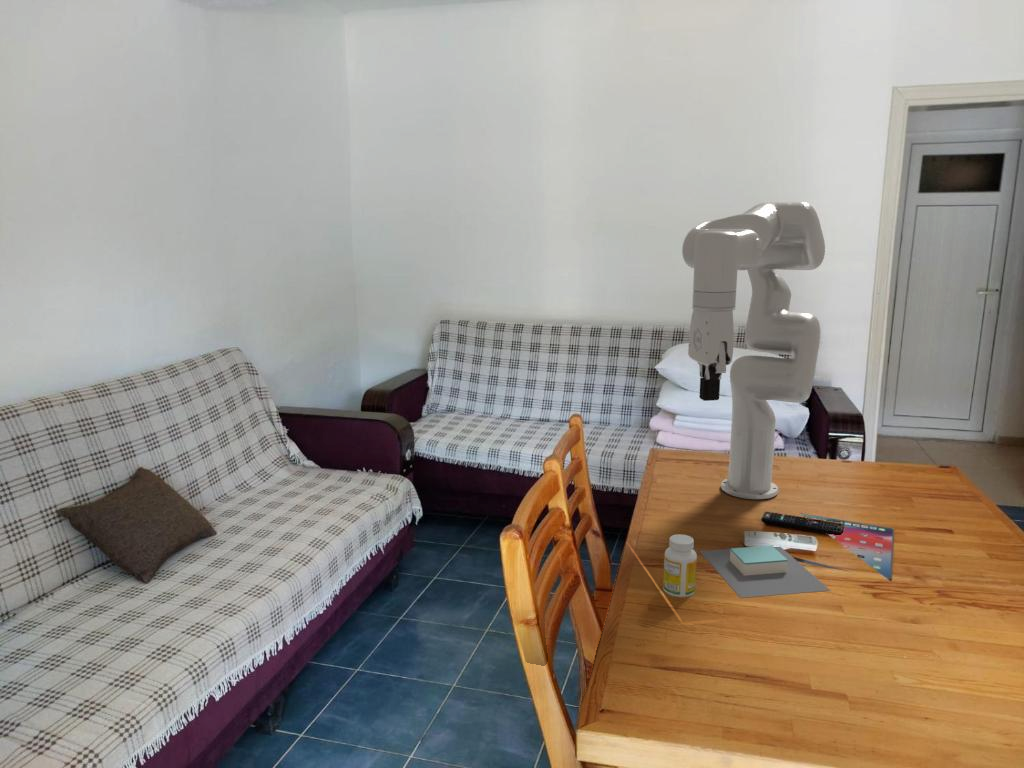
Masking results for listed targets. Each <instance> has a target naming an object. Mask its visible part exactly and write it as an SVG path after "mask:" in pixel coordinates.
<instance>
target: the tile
mask: <svg viewBox="0 0 1024 768" xmlns="http://www.w3.org/2000/svg"><path fill="white" fill-rule="evenodd" d="M773 546H774V545H761V546H757V545H756V546H746V547H734V548H729V549H730V561H731V562H732V563H733V564H734V565H735V567H736V568H737V569H738V570H739V571H740V572H741V573H742V574H743V575H744V576H747V575H759V574H772V573H784V572H787V564H788V560H787V559H786V558H785V557H784V556H783V555H782V554H781V553H780V552H778V551H777V550H776V549H775V548H774V547H773Z"/></svg>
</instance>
